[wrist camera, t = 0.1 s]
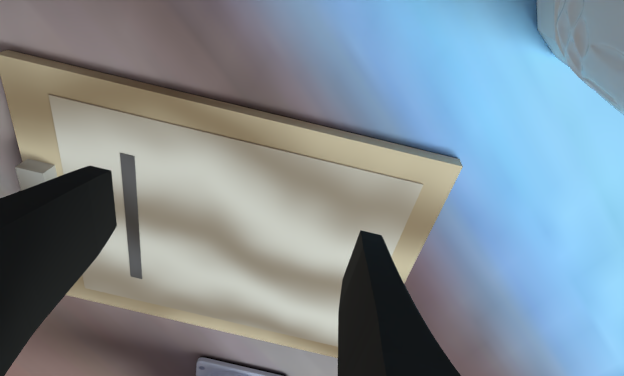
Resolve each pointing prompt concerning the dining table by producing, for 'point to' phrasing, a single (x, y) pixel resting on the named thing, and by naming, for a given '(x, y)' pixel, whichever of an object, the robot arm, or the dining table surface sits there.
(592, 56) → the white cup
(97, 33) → the dining table surface
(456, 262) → the dining table surface
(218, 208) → the cream rectangular tray
